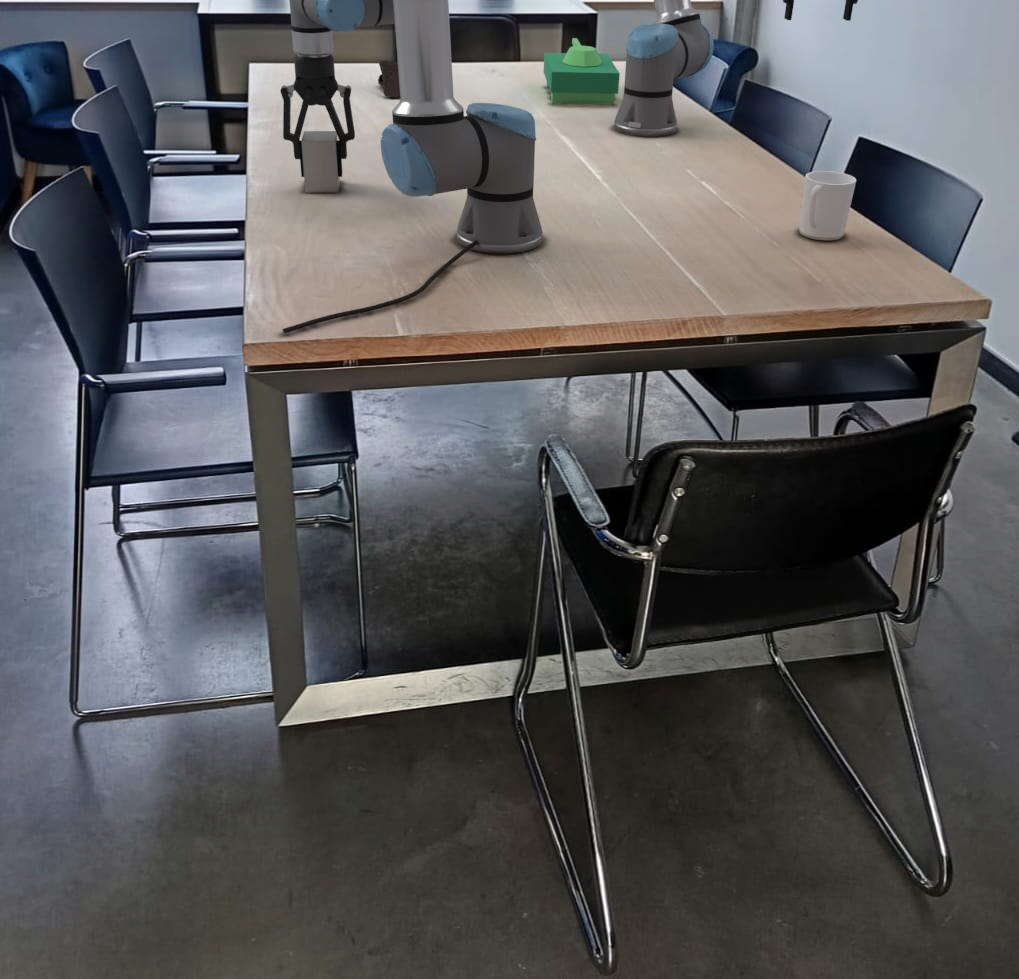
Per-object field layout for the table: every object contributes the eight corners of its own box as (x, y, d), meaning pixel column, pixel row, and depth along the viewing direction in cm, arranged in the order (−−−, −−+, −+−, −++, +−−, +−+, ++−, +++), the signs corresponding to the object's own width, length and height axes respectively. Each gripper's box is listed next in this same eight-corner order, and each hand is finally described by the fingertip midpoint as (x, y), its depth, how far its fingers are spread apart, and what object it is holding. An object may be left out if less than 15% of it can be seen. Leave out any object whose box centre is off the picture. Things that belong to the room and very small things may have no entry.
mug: (809, 222, 208) (818, 168, 202) (854, 233, 203) (864, 177, 197) (782, 236, 200) (791, 180, 195) (827, 247, 195) (838, 190, 190)
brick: (338, 192, 219) (335, 140, 213) (305, 192, 218) (301, 140, 213) (339, 181, 225) (336, 131, 220) (307, 181, 225) (303, 131, 219)
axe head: (443, 87, 294) (392, 77, 287) (436, 115, 299) (385, 106, 292) (421, 62, 307) (371, 52, 300) (414, 89, 311) (365, 80, 304)
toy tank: (604, 35, 312) (620, 58, 282) (601, 80, 318) (617, 107, 288) (542, 33, 311) (552, 56, 281) (541, 79, 317) (550, 106, 288)
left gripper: (365, 50, 213) (371, 169, 225) (263, 50, 211) (274, 170, 223) (364, 57, 206) (370, 179, 218) (259, 57, 204) (271, 180, 216)
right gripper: (883, -88, 238) (864, 17, 249) (771, -90, 235) (758, 16, 246) (897, -86, 231) (877, 22, 242) (782, -88, 229) (767, 21, 240)
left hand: (322, 174), depth 220 cm, fingers closed on brick, 7 cm apart
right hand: (817, 19), depth 244 cm, fingers open, 13 cm apart
